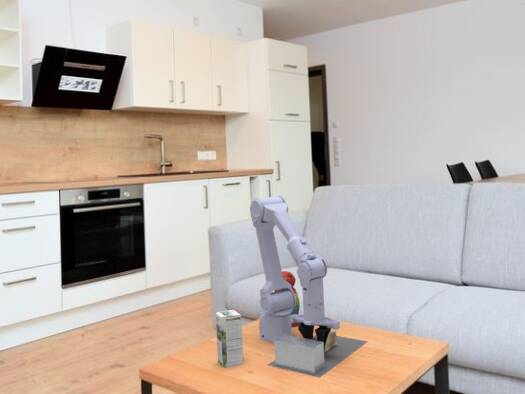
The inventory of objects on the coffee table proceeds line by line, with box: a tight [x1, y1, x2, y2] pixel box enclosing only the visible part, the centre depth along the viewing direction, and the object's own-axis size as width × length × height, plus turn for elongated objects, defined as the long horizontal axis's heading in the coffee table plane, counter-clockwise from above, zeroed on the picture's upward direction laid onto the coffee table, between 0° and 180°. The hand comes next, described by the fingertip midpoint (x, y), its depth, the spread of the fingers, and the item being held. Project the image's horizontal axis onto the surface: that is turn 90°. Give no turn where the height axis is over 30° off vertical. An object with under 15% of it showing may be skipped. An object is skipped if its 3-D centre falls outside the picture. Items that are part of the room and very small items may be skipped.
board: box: [267, 334, 368, 378], centre depth 140 cm, size 16×28×1 cm, turn 144°
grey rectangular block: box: [273, 335, 325, 374], centre depth 131 cm, size 12×5×7 cm, turn 54°
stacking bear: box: [273, 270, 301, 328], centre depth 170 cm, size 11×10×18 cm
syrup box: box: [215, 309, 244, 369], centre depth 137 cm, size 6×6×14 cm
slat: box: [311, 329, 337, 353], centre depth 138 cm, size 18×3×4 cm, turn 144°
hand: (315, 351), depth 138 cm, fingers closed on slat, 3 cm apart
